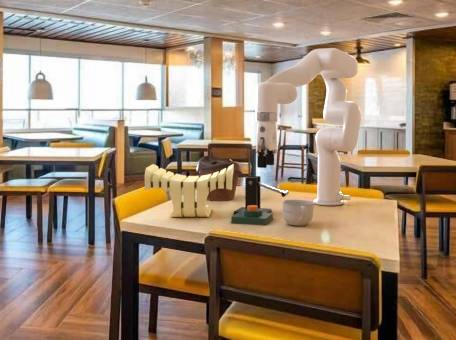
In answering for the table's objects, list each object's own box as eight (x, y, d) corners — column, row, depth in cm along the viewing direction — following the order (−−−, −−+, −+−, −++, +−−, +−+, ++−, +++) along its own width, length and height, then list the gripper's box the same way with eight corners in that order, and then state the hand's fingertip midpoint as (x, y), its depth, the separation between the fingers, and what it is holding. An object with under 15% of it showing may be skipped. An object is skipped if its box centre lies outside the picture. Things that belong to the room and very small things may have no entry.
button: (258, 210, 189) (259, 205, 189) (255, 212, 186) (255, 207, 185) (249, 209, 190) (249, 204, 190) (245, 211, 186) (245, 206, 186)
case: (240, 202, 223) (240, 159, 220) (192, 201, 223) (191, 158, 221) (246, 195, 240) (246, 155, 238) (201, 194, 240) (201, 154, 238)
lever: (287, 196, 201) (289, 190, 200) (284, 198, 196) (286, 192, 195) (250, 182, 203) (252, 176, 203) (246, 184, 198) (248, 178, 198)
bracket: (271, 211, 205) (271, 175, 203) (264, 216, 196) (265, 179, 194) (241, 210, 207) (241, 174, 206) (233, 214, 198) (233, 177, 197)
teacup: (281, 220, 189) (282, 198, 188) (312, 220, 190) (312, 198, 189) (283, 230, 176) (283, 205, 175) (316, 229, 177) (316, 205, 176)
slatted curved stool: (145, 219, 189) (144, 168, 187) (154, 210, 204) (153, 163, 202) (231, 218, 192) (231, 169, 189) (233, 209, 207) (233, 163, 205)
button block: (272, 219, 192) (272, 208, 191) (264, 225, 182) (264, 213, 182) (240, 217, 194) (240, 206, 194) (231, 223, 185) (231, 211, 184)
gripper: (270, 118, 179) (269, 169, 181) (283, 117, 196) (282, 164, 198) (248, 117, 181) (248, 168, 183) (263, 117, 198) (262, 163, 200)
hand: (265, 166), depth 190 cm, fingers open, 9 cm apart
